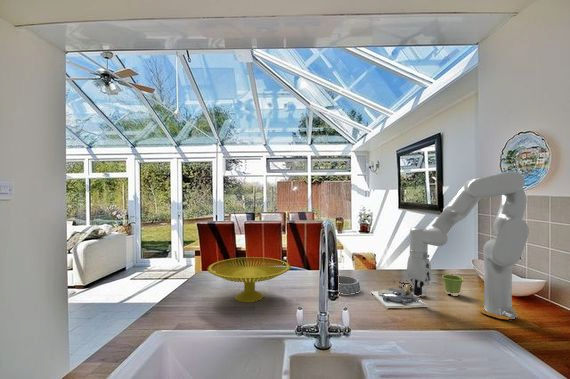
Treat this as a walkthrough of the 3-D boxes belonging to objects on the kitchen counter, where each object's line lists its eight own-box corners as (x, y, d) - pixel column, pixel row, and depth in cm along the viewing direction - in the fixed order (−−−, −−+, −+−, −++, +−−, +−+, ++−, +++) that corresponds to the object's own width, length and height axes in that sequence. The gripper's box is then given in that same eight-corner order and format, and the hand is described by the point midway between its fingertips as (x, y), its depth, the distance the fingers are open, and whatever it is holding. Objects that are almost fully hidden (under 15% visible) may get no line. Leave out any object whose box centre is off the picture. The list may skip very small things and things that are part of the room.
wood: (390, 279, 178) (390, 274, 178) (403, 279, 177) (403, 274, 177) (399, 292, 156) (399, 286, 156) (414, 292, 155) (414, 286, 155)
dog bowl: (341, 282, 171) (341, 272, 171) (367, 291, 157) (367, 280, 157) (319, 288, 161) (319, 278, 161) (345, 298, 146) (345, 287, 146)
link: (425, 297, 147) (425, 288, 147) (417, 297, 147) (418, 289, 147) (421, 294, 151) (421, 286, 151) (413, 294, 151) (413, 286, 151)
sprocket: (424, 303, 135) (424, 291, 135) (388, 304, 133) (388, 292, 133) (405, 290, 152) (405, 279, 152) (373, 291, 151) (373, 280, 151)
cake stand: (234, 322, 118) (234, 284, 118) (192, 294, 149) (193, 264, 149) (308, 299, 144) (308, 267, 144) (260, 279, 175) (260, 253, 175)
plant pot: (457, 291, 155) (458, 275, 155) (467, 298, 146) (467, 280, 146) (438, 291, 156) (439, 274, 156) (446, 297, 147) (446, 279, 147)
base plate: (427, 307, 134) (427, 305, 134) (386, 308, 132) (386, 306, 132) (407, 293, 153) (407, 290, 153) (370, 293, 151) (370, 291, 151)
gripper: (438, 257, 133) (438, 299, 133) (410, 251, 146) (410, 288, 146) (427, 259, 129) (426, 301, 129) (399, 252, 143) (399, 291, 143)
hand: (417, 294), depth 138 cm, fingers closed
